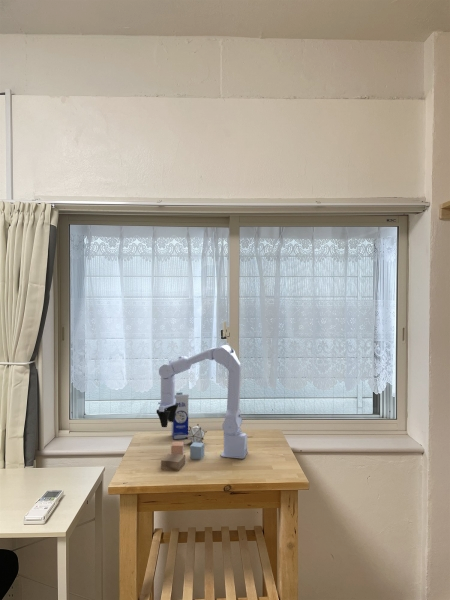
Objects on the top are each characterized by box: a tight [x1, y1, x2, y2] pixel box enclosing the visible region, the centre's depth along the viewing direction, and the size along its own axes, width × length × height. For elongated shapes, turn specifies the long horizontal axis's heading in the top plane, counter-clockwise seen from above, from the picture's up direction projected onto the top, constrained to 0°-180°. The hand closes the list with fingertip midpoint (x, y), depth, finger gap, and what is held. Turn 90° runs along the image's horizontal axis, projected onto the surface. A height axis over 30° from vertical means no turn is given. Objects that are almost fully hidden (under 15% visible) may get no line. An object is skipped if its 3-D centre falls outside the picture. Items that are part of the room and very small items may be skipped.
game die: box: [185, 423, 208, 444], centre depth 185 cm, size 9×8×10 cm
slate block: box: [189, 442, 205, 461], centre depth 171 cm, size 4×4×5 cm
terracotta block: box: [170, 441, 185, 455], centre depth 172 cm, size 4×4×5 cm
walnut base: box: [160, 453, 186, 472], centre depth 161 cm, size 7×7×4 cm
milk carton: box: [171, 392, 189, 440], centre depth 195 cm, size 7×7×20 cm
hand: (167, 424), depth 180 cm, fingers open, 7 cm apart
